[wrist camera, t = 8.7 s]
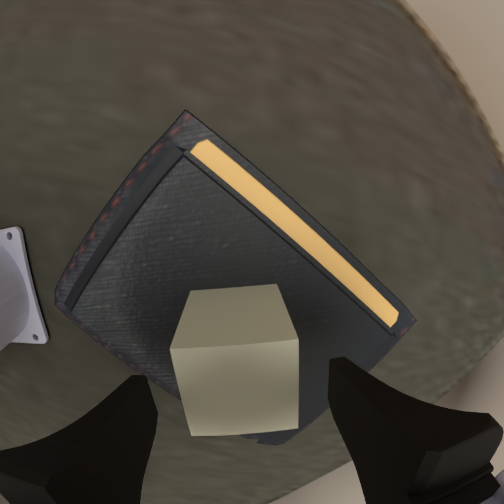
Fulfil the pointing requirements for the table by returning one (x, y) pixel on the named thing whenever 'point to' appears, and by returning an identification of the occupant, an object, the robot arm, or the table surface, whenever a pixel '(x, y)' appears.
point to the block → (237, 361)
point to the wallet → (221, 266)
